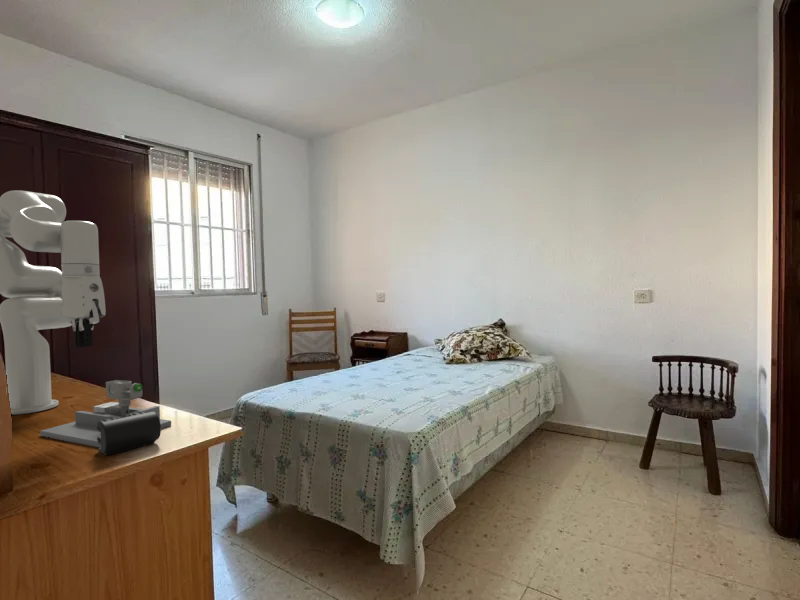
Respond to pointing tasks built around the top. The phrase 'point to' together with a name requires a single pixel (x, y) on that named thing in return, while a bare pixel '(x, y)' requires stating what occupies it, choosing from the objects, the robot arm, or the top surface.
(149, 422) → the end cap
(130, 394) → the mechanical component
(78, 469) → the top surface
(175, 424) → the top surface
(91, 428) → the grey railed base plate
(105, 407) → the grey matte cube
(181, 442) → the top surface
